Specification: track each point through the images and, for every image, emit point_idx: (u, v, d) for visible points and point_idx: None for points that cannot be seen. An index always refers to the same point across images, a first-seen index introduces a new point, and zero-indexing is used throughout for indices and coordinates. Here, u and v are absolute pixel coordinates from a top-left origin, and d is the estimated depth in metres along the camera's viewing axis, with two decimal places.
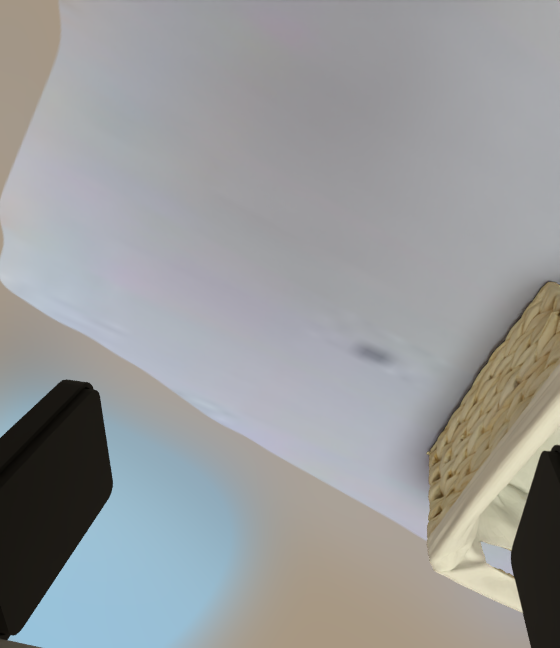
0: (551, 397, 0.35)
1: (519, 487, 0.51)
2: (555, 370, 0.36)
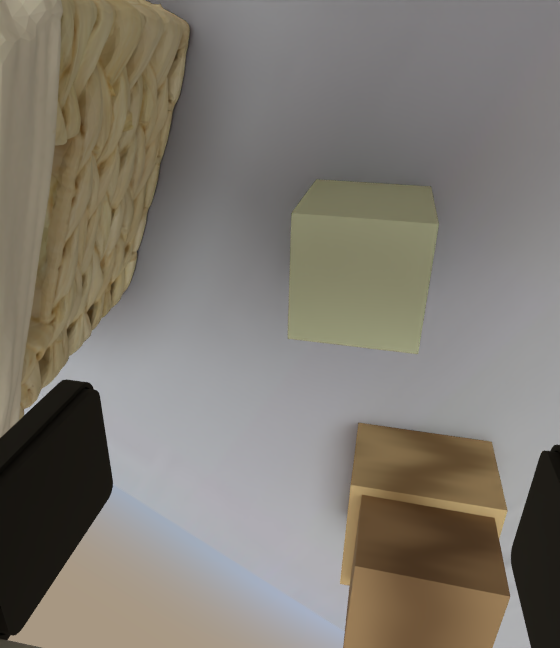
0: None
1: None
2: None
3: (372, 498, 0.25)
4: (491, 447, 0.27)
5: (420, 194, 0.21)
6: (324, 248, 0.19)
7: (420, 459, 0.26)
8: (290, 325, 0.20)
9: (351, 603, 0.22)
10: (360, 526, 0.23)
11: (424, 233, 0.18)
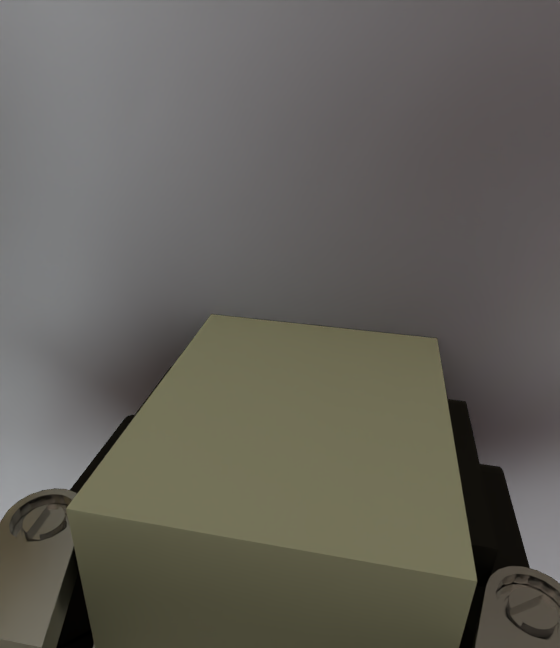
0: None
1: None
2: None
3: None
4: None
5: (417, 376, 0.10)
6: (166, 590, 0.07)
7: None
8: None
9: None
10: None
11: (434, 595, 0.06)
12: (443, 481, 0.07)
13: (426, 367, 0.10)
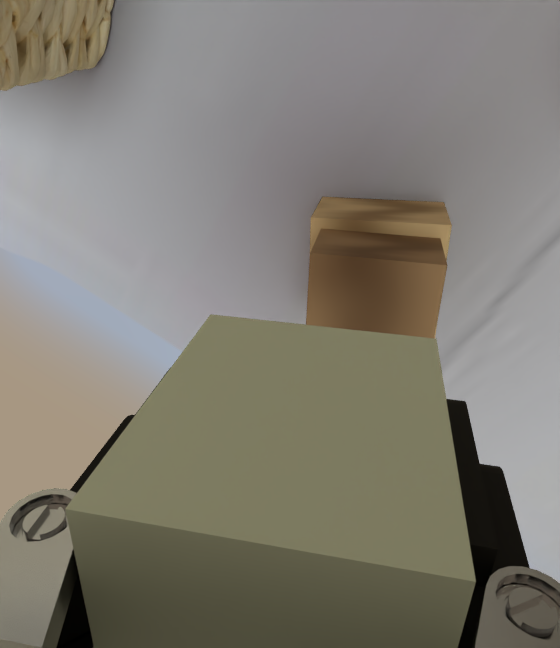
0: None
1: None
2: None
3: (330, 229, 0.27)
4: (443, 204, 0.30)
5: (416, 377, 0.10)
6: (165, 590, 0.07)
7: (377, 208, 0.29)
8: None
9: (309, 300, 0.25)
10: (317, 239, 0.25)
11: (433, 596, 0.06)
12: (442, 481, 0.07)
13: (425, 367, 0.10)
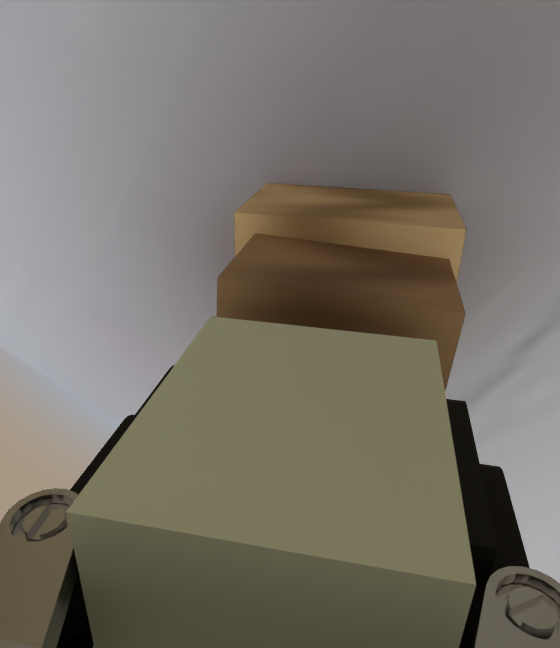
0: None
1: None
2: None
3: (269, 236, 0.16)
4: (449, 197, 0.19)
5: (416, 379, 0.10)
6: (165, 593, 0.07)
7: (345, 201, 0.18)
8: None
9: None
10: (241, 252, 0.15)
11: (433, 599, 0.06)
12: (442, 484, 0.07)
13: (425, 369, 0.10)
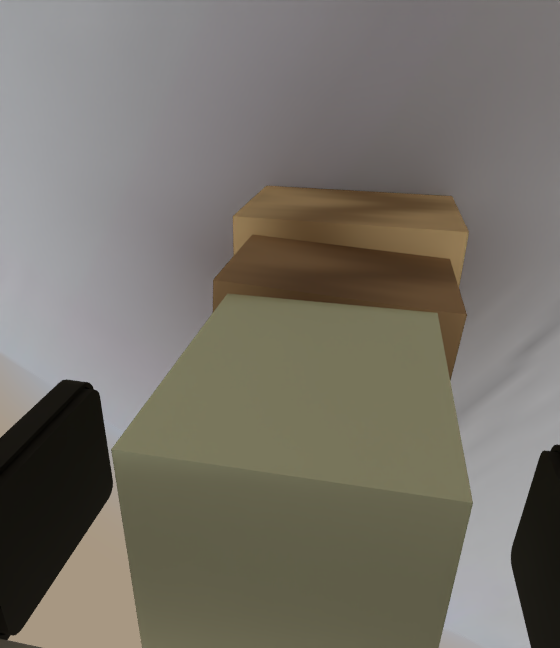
0: None
1: None
2: None
3: (267, 237, 0.16)
4: (451, 198, 0.19)
5: (419, 344, 0.11)
6: (198, 523, 0.08)
7: (345, 204, 0.18)
8: (146, 644, 0.09)
9: None
10: (238, 254, 0.15)
11: (436, 517, 0.07)
12: (443, 427, 0.08)
13: (427, 336, 0.11)
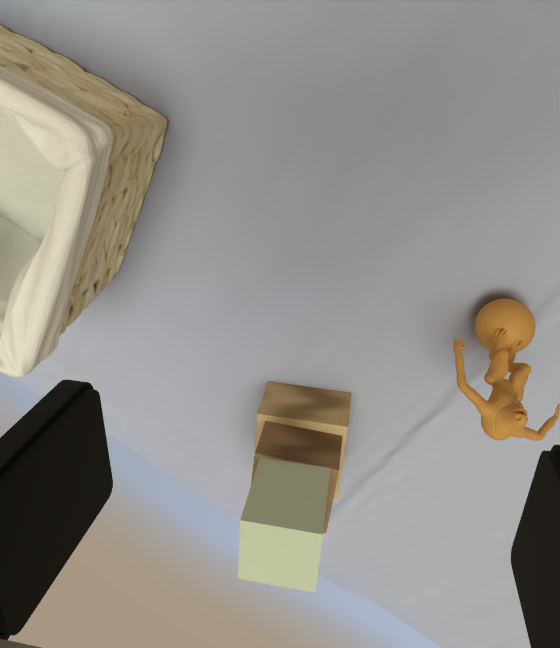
0: None
1: None
2: (41, 87, 0.26)
3: (271, 422, 0.40)
4: (349, 396, 0.43)
5: (321, 483, 0.35)
6: (259, 538, 0.32)
7: (303, 401, 0.42)
8: (239, 572, 0.33)
9: None
10: (261, 435, 0.39)
11: (315, 537, 0.31)
12: (321, 514, 0.32)
13: (324, 480, 0.35)
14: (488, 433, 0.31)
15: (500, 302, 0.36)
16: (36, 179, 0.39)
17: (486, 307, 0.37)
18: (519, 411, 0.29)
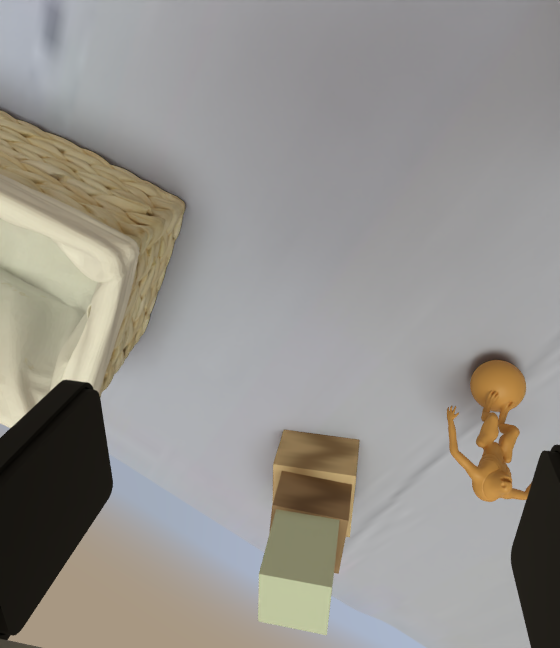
0: (41, 208, 0.29)
1: None
2: (77, 211, 0.30)
3: (287, 472, 0.44)
4: (358, 443, 0.47)
5: (331, 536, 0.39)
6: (276, 588, 0.36)
7: (315, 450, 0.46)
8: (259, 616, 0.38)
9: (271, 526, 0.42)
10: (278, 486, 0.43)
11: (325, 590, 0.35)
12: (330, 567, 0.37)
13: (334, 532, 0.39)
14: (478, 496, 0.34)
15: (492, 365, 0.40)
16: None
17: (480, 369, 0.40)
18: (505, 478, 0.33)
